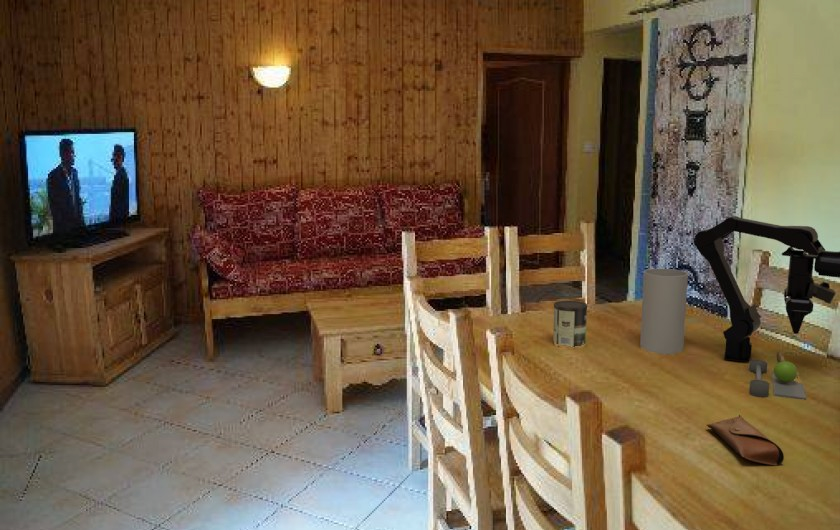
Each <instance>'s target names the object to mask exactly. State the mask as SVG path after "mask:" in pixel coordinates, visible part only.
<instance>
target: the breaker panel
mask: <svg viewBox="0 0 840 530" xmlns="http://www.w3.org/2000/svg"><path fill="white" fill-rule="evenodd" d="M798 375H799V376H800V373H799V371H797V376H796V378H797V379H798ZM771 376H772V377H771V378H772V385H773V396H774V397H778V398H779V397H780V398H787V399H794V400H795V399H796V400H802V399H804V400H803V401H806V400H807V395H806V392H805V391H806V390H805V387H804V383H803V384H802V383H798V382H796V381H794V380H793V381H791V382H782V381H780V380H778V379H777V378H776V376H775V374H774V371H773V372H772V371H771Z"/></svg>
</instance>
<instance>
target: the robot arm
mask: <svg viewBox="0 0 840 530" xmlns="http://www.w3.org/2000/svg"><path fill="white" fill-rule="evenodd" d="M733 232H736V233H741V234H745V235H751V236H755V237H761V238H765V239H771V240H773V241H774V240H775V241H777V242H780V243H781V244H784V245H785V246H787V247H788V248H787V249H786V250H785V251H783V252H782V253H781V256H784V257H785V256H786V257H789V262H788V263H789V265H788V274H787V285H786V288H784V291H783V297H784V304H785V311H786V315H787V317H788V320H789V323H790V327H791V330H792V332H793V334H796V335H798V334H800V333H799V332H800V331H801V328H802V325H803V322H804V319H805V317H806V316H808V315H810V314H812V312H814V302H813V301H812V299H813V297H814V298H816V299H818V300H821V301H823V302H824V303H825V304H831V303H832V301H833V299H834V297H835V295H836V291H835V290H834V289H832V288H830V282H827V281H822V282H820V283H816V282H815V280H814V278H813V274H814V272H815V273H817V274H818V276H822V277H829V278H840V251H831V250H826V249H825V248H824V246H823V245H822V242H820V240H819V239H818V238H819V235H818V231H817V230H816V229H815V228H814V227H812V226H807V225H779V224H773V223H768V222H763V221H758V220H753V219H750V218H749V219H748V218H742V217H739V216H737V215H733V216H730V217H727V218H725V220H723V221H721V222H720V223H717V224H716V225H714V226H713V227H711V228H709V229H704V230H702V231H701V230H700V231H699V232H697V233H695V236H694V238H693V244H694V246H695V248H696V249H697V251H698V253H699V254H700V255H701V256H702V257H703V258H704V259H705V260H706V261H707V262H708V264H709V265H710V267H711V271H712V272H713V274H714V276H715V278H716V279H715V280H716V281H717V283H718V285H719V288H720V289H721V292H722V294H723V297H724V298H725V302H726V303H727V305H728V308H729V309H728V310H729V319H730V323H731V326H730V327H728V328H727V329H725V330H724V331H723V332H722V333H723V334H722V335H723V338H724V339H725V346H724V347H725V348H724V356H723V359H724V360H726V361H727V360H728V361H736V362H744V363H748V362H749V363H750V359H752V347H753V343H752V342H750V341H751V337H750V336H752V334H753V333H755V332H756V331H757V330H758V329H759V328H760V326H761V322H762V321H761V318H762V316H761V315H760V314H759V311H758V309H757V306H756V304H752V305H750V304H749V303H748V302H747V301H746V300H745V298H744V296H743V294H742V292H741V289H740V287H739V285H738V283H737V281H736V279H735V277H734V276H735V275H734V274H733V272H732V270H731V267H730V265H729V264H728V261H727V259H726V256H725V248H724V247H725V246H724V241H723V239H725V238H727V237H728V236H729V235H731V234H732V233H733ZM813 271H814V272H813Z"/></svg>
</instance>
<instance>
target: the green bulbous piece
mask: <svg viewBox="0 0 840 530" xmlns="http://www.w3.org/2000/svg"><path fill="white" fill-rule="evenodd" d="M776 361H777V362H776V363H775V364H776V365H774V368H773V372H774V374H775V376H776V378H777V379H778V380H780V381H782V382H791V381H793V380H794V379H795V378H796V376H797V372H798V369H797V367H796V365H794V363H792V362H790V361H786V360H785V357H784V354H783V351H781V350H778V351H777V352H776Z"/></svg>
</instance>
